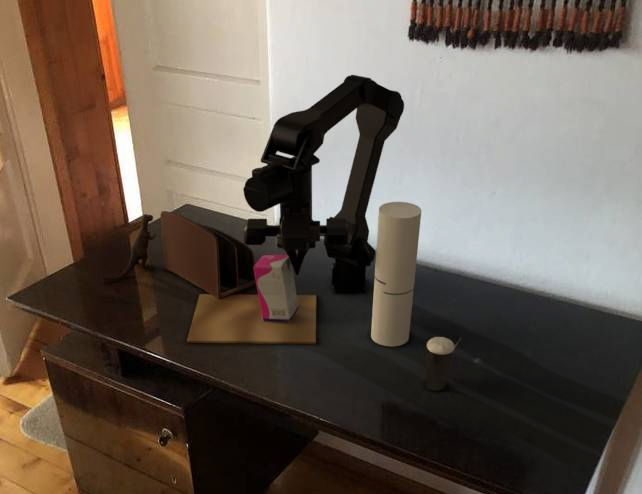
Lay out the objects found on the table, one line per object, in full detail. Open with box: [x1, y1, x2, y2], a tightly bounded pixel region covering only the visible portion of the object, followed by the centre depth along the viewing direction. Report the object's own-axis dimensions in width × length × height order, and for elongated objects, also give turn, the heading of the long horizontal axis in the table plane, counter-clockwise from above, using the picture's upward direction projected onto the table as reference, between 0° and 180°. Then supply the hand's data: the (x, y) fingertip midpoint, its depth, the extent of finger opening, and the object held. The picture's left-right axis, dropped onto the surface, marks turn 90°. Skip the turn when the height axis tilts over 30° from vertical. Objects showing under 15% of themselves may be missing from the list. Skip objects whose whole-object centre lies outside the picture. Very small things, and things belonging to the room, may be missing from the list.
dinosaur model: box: [101, 213, 157, 282], centre depth 156 cm, size 4×12×15 cm
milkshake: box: [425, 336, 462, 392], centre depth 123 cm, size 4×5×10 cm
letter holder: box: [160, 210, 257, 299], centre depth 153 cm, size 10×20×14 cm, turn 43°
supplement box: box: [253, 254, 299, 322], centre depth 140 cm, size 6×6×12 cm
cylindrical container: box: [370, 201, 422, 348], centre depth 131 cm, size 7×7×25 cm
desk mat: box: [186, 293, 317, 345], centre depth 144 cm, size 24×18×1 cm
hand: (297, 273), depth 138 cm, fingers closed
